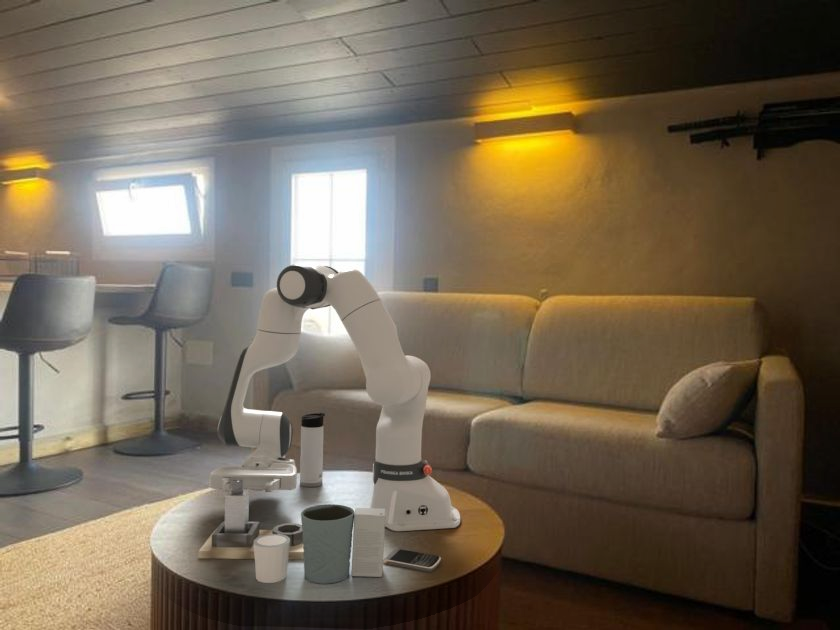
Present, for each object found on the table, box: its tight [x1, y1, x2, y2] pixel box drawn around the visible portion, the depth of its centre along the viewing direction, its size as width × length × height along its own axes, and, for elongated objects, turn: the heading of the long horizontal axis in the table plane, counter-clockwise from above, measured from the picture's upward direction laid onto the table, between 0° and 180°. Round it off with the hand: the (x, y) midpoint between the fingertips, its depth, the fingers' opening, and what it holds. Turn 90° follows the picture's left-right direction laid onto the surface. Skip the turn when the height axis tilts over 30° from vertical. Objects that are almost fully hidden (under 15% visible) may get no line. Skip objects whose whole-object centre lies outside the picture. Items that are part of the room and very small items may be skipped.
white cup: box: [254, 534, 290, 584], centre depth 122 cm, size 7×7×7 cm
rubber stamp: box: [224, 480, 250, 534], centre depth 135 cm, size 4×4×12 cm
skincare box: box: [350, 507, 386, 578], centre depth 124 cm, size 6×4×12 cm
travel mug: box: [299, 412, 326, 488], centre depth 181 cm, size 6×7×20 cm
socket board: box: [198, 520, 304, 560], centre depth 135 cm, size 22×12×4 cm, turn 92°
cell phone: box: [383, 548, 442, 573], centre depth 130 cm, size 6×11×1 cm, turn 69°
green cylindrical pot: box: [300, 503, 355, 585], centre depth 123 cm, size 10×10×12 cm
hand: (247, 488), depth 145 cm, fingers open, 8 cm apart
